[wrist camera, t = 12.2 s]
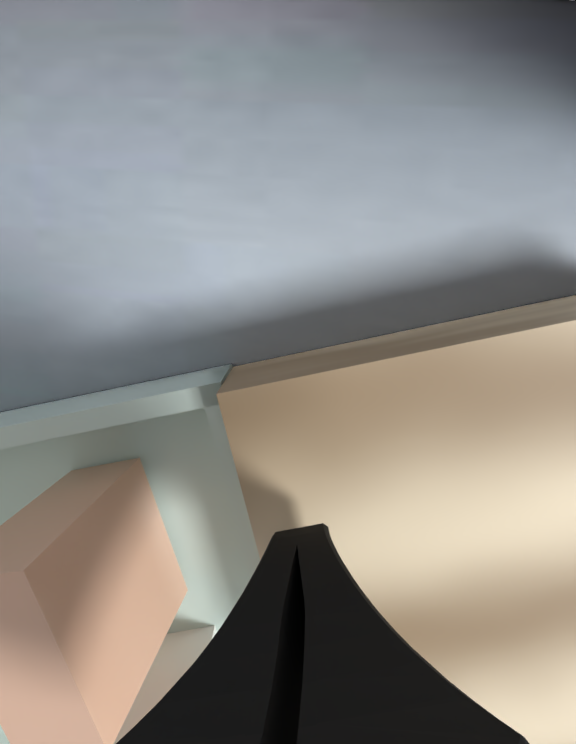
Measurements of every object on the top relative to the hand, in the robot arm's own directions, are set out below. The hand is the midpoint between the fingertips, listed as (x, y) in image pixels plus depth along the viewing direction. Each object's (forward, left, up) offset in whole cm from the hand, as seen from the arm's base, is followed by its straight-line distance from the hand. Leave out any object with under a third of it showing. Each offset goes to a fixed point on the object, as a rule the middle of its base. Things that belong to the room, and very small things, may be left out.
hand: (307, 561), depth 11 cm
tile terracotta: (0, +5, -1) cm, 5 cm away
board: (-4, -5, -4) cm, 7 cm away
